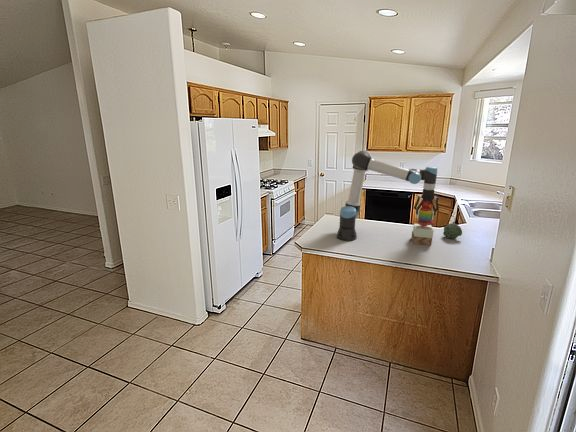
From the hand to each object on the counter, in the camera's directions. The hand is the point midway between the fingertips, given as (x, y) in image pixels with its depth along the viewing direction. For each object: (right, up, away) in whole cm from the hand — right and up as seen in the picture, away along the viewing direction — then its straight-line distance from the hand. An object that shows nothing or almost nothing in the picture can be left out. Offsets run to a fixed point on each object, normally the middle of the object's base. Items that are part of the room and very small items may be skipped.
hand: (424, 219), depth 227 cm
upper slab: (0, -11, +3) cm, 12 cm away
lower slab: (0, -17, +6) cm, 18 cm away
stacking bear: (0, -4, +1) cm, 4 cm away
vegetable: (+27, -14, +14) cm, 33 cm away
